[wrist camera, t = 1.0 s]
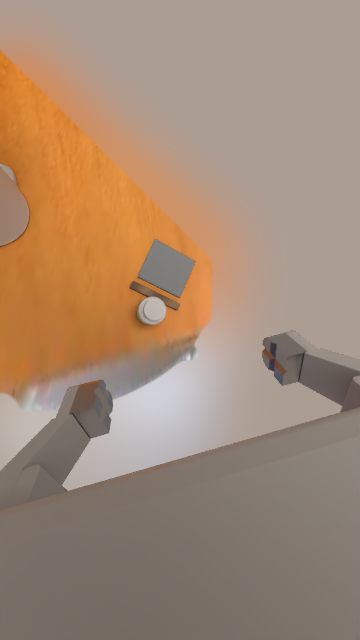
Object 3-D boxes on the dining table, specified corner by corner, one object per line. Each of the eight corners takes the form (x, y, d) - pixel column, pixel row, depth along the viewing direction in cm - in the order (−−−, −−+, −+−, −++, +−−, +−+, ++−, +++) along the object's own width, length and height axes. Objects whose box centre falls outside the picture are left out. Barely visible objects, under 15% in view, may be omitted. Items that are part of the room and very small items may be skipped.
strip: (129, 288, 46) (130, 287, 44) (132, 281, 46) (133, 280, 45) (176, 310, 48) (177, 310, 47) (178, 304, 49) (180, 303, 48)
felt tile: (137, 277, 46) (137, 276, 45) (155, 239, 47) (155, 238, 47) (179, 297, 49) (180, 297, 48) (195, 262, 50) (195, 261, 49)
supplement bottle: (160, 302, 47) (170, 296, 38) (158, 325, 47) (168, 326, 37) (136, 299, 46) (140, 292, 36) (134, 323, 46) (138, 323, 36)
